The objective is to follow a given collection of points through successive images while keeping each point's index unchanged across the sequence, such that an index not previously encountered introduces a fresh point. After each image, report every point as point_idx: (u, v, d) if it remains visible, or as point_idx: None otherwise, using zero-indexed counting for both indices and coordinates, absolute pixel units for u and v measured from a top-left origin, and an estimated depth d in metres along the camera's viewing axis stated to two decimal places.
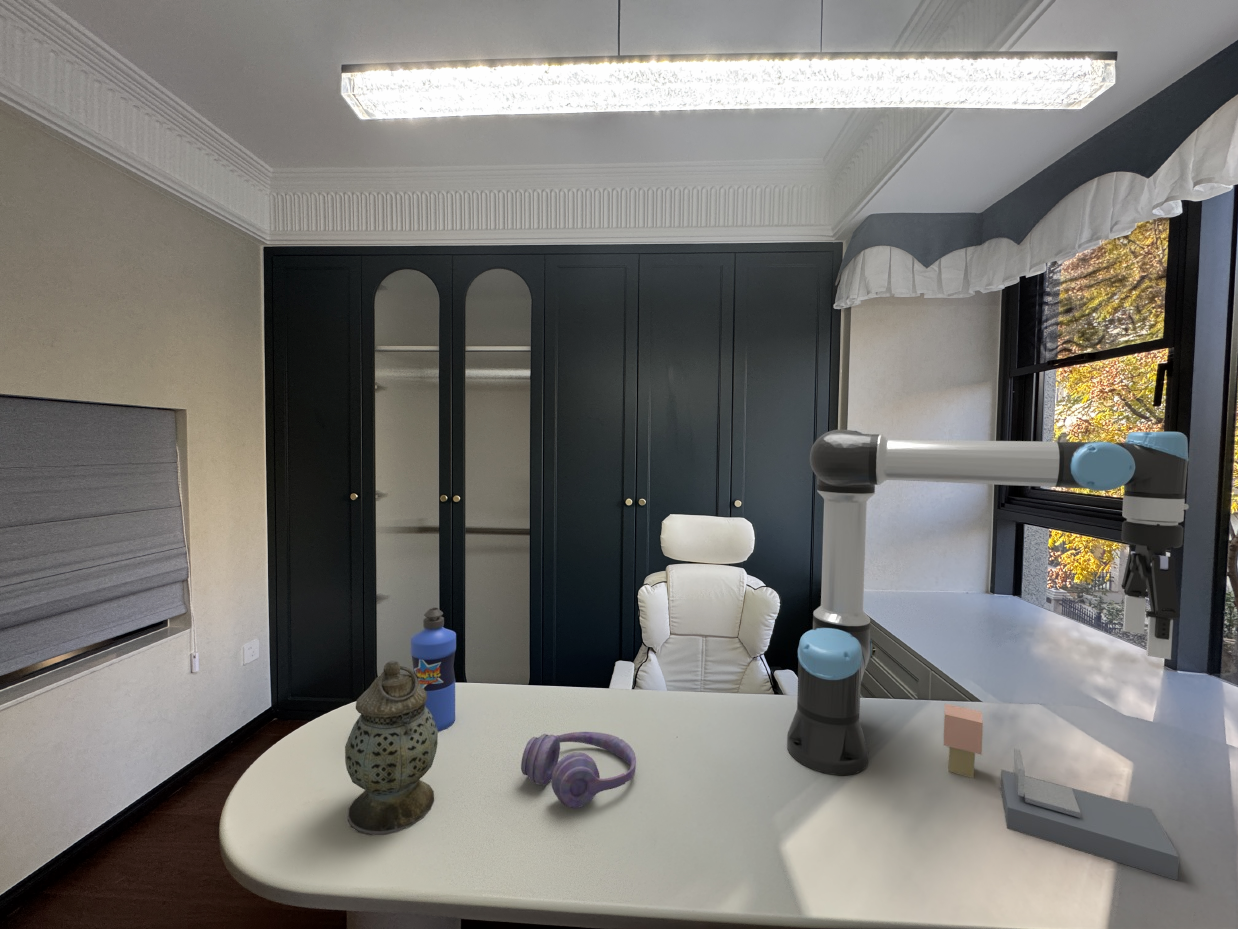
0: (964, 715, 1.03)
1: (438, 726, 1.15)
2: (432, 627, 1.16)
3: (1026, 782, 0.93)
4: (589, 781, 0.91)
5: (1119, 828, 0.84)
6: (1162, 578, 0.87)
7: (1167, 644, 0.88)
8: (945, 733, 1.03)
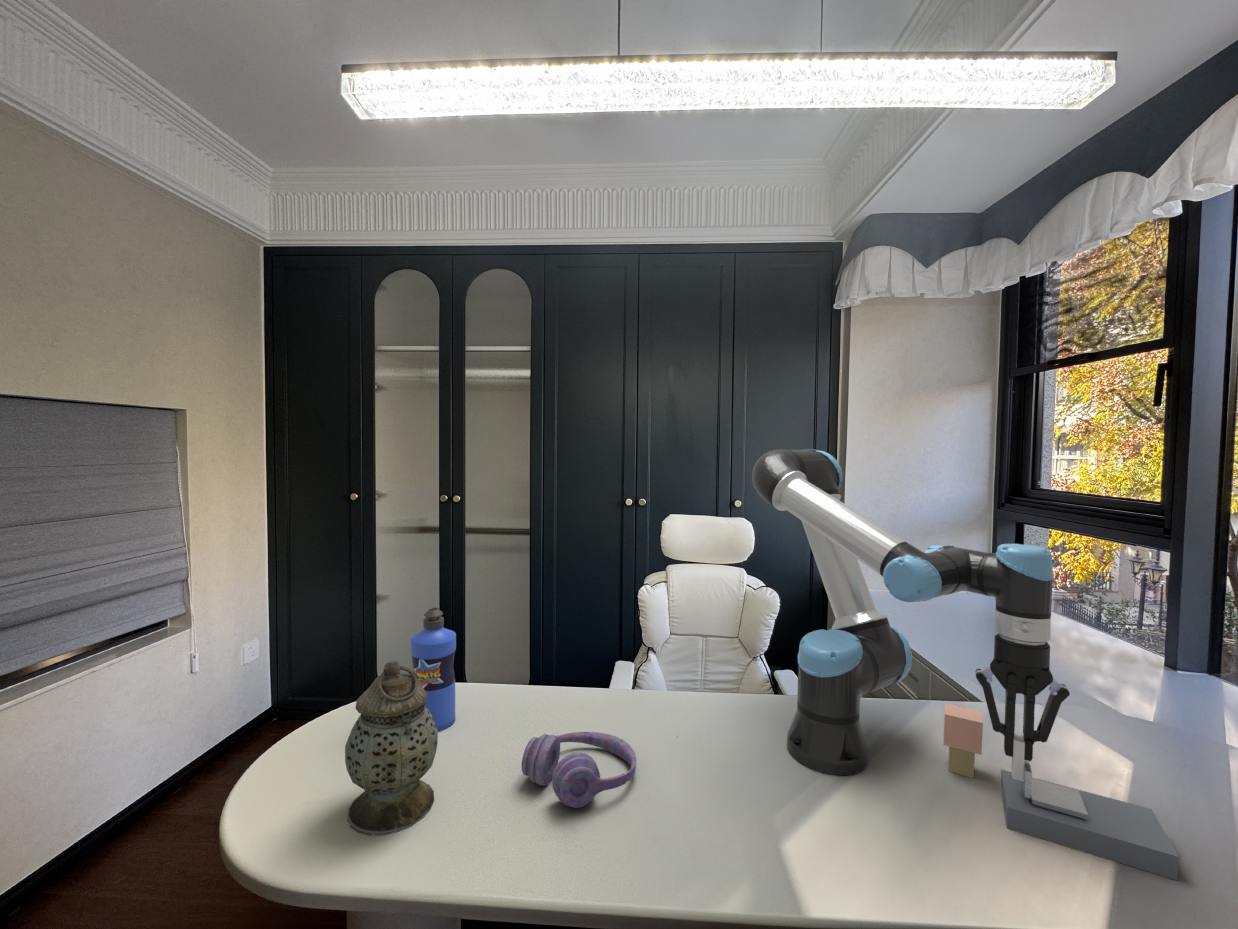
0: (964, 715, 1.03)
1: (438, 726, 1.15)
2: (432, 627, 1.16)
3: (1033, 784, 0.93)
4: (590, 781, 0.91)
5: (1119, 828, 0.84)
6: None
7: (1012, 763, 0.92)
8: (945, 733, 1.03)
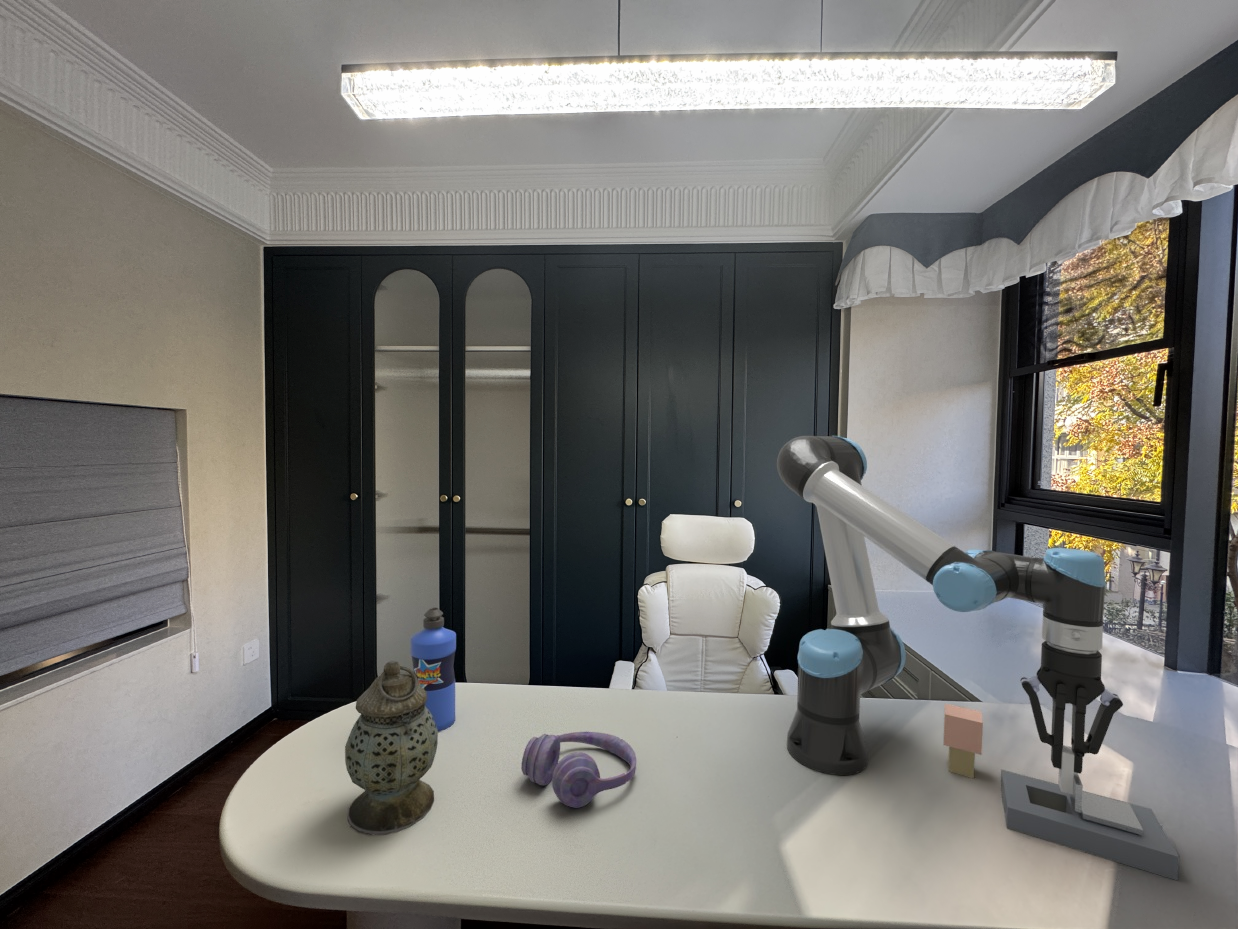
0: (964, 715, 1.03)
1: (438, 726, 1.15)
2: (432, 627, 1.16)
3: (1081, 797, 0.89)
4: (590, 781, 0.91)
5: None
6: (1030, 701, 0.91)
7: (1061, 775, 0.89)
8: (945, 733, 1.03)
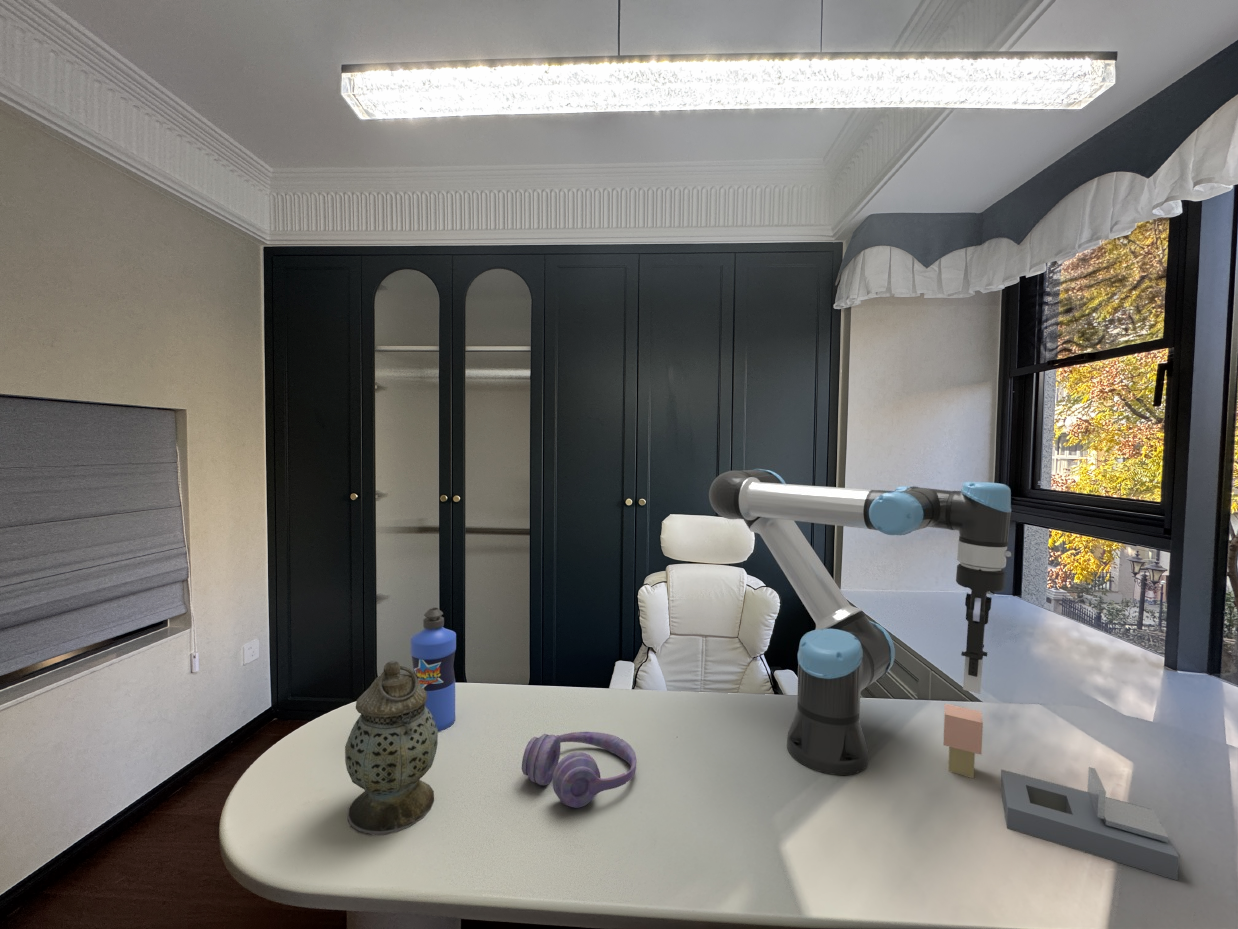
0: (964, 715, 1.03)
1: (438, 726, 1.15)
2: (432, 627, 1.16)
3: None
4: (590, 781, 0.91)
5: None
6: (973, 629, 0.97)
7: (978, 680, 1.01)
8: (945, 733, 1.03)
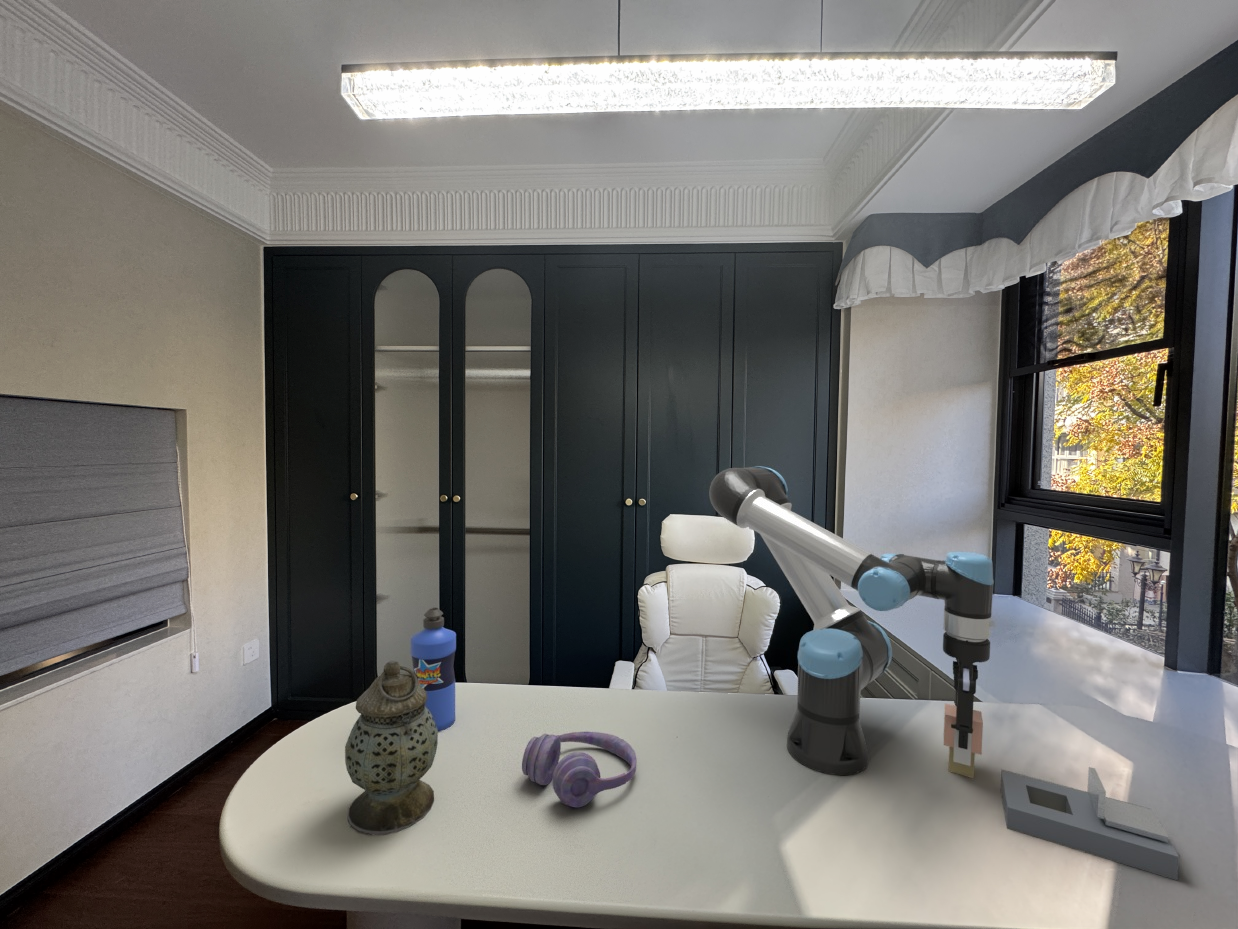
0: None
1: (438, 726, 1.15)
2: (432, 627, 1.16)
3: None
4: (590, 781, 0.91)
5: None
6: (963, 699, 0.99)
7: (968, 752, 1.01)
8: (945, 733, 1.03)
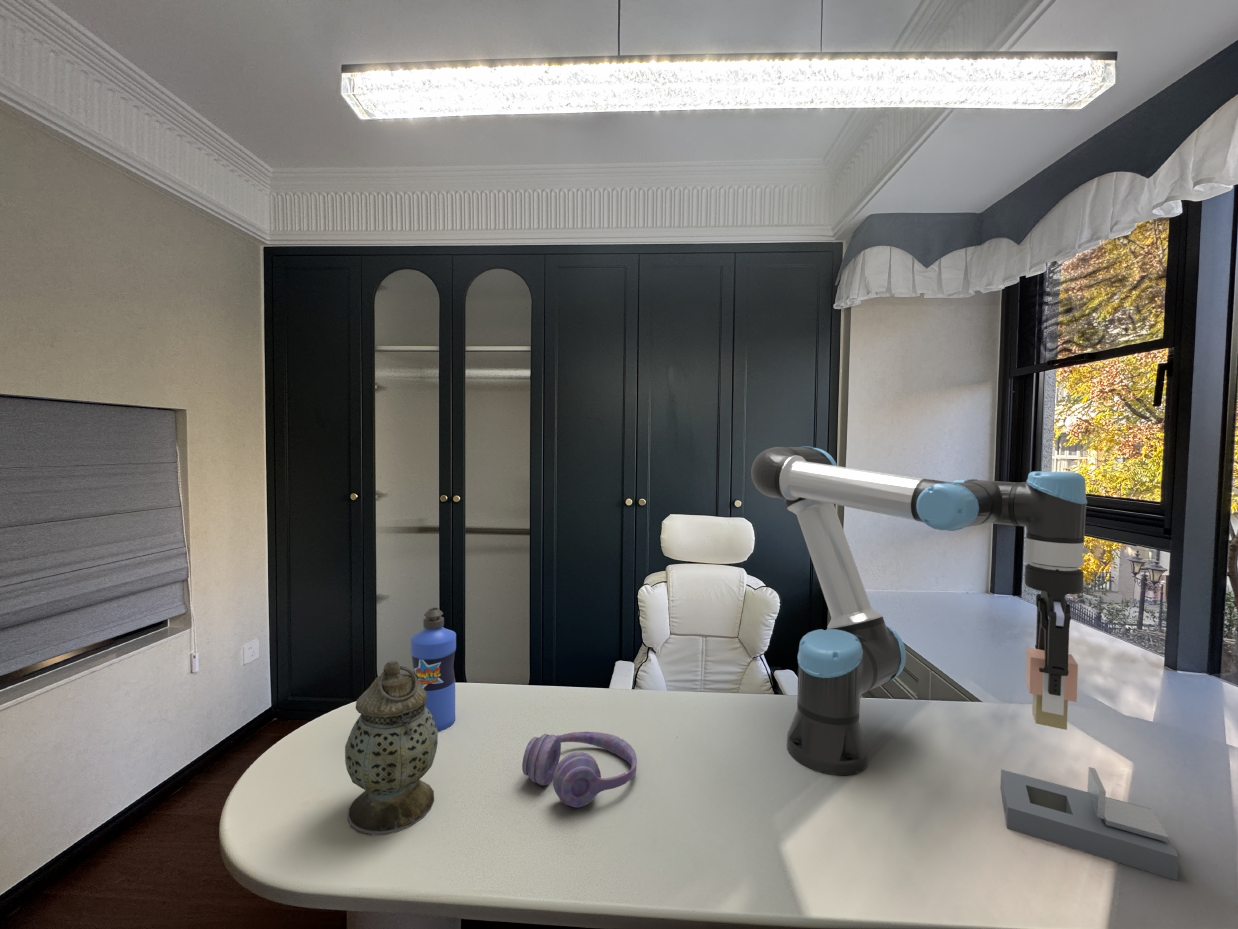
0: None
1: (438, 726, 1.15)
2: (432, 627, 1.16)
3: None
4: (591, 781, 0.91)
5: None
6: (1056, 636, 0.85)
7: (1060, 700, 0.87)
8: (1031, 679, 0.89)
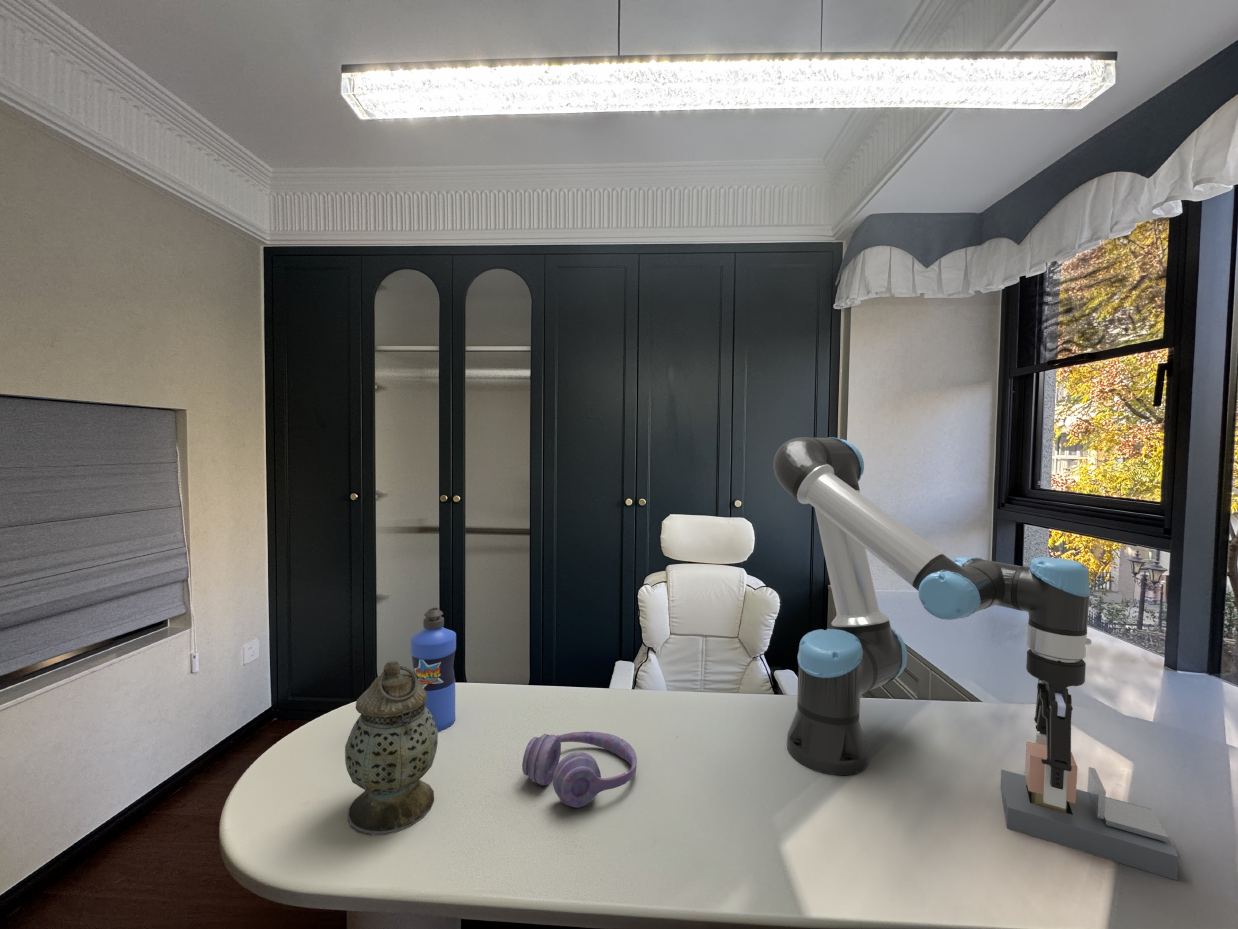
0: None
1: (438, 726, 1.15)
2: (432, 627, 1.16)
3: None
4: (590, 781, 0.91)
5: None
6: (1058, 727, 0.84)
7: (1062, 793, 0.85)
8: (1030, 777, 0.89)
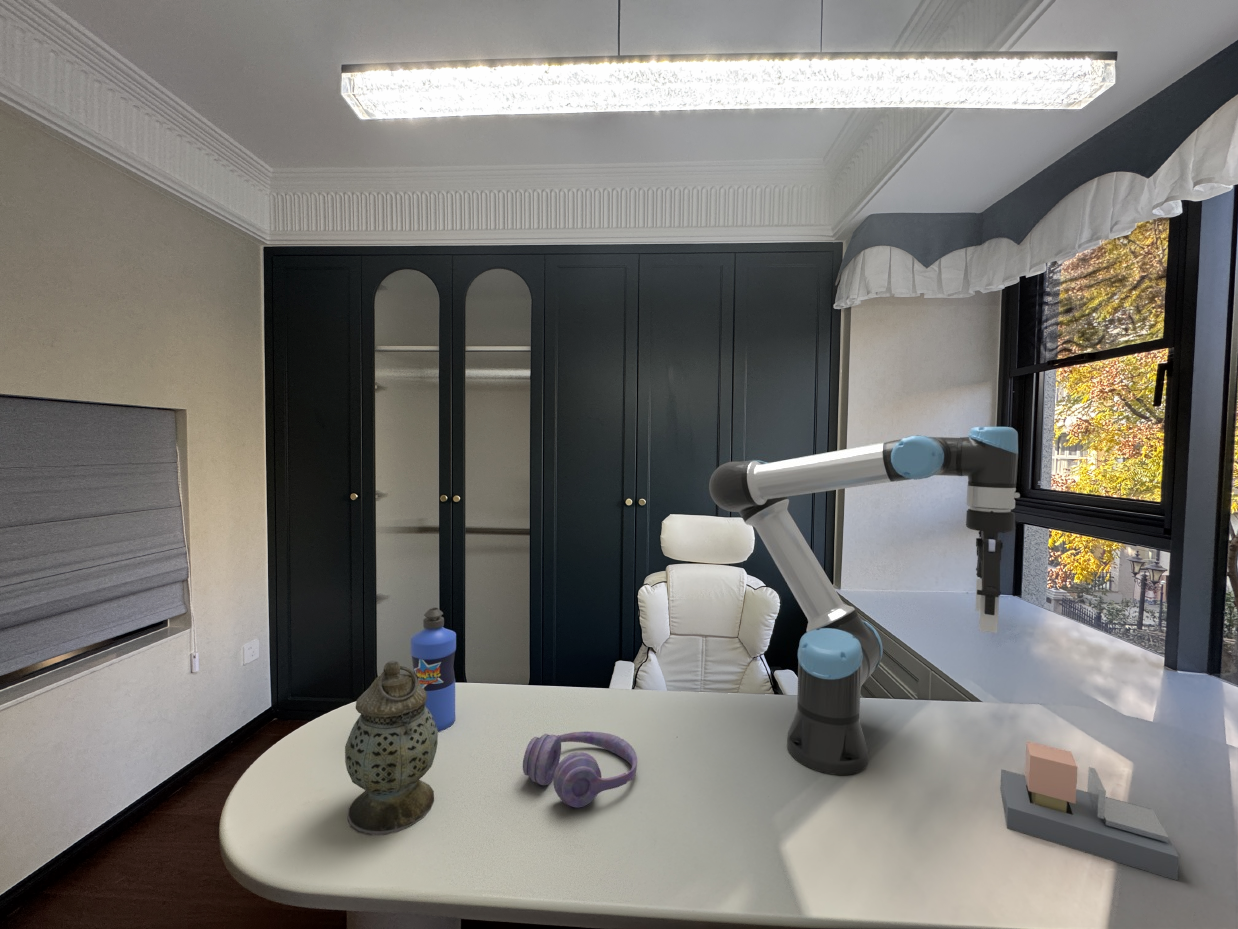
0: (1052, 757, 0.89)
1: (438, 726, 1.15)
2: (432, 627, 1.16)
3: None
4: (591, 781, 0.91)
5: None
6: (989, 559, 0.96)
7: (994, 619, 0.97)
8: (1030, 777, 0.89)
